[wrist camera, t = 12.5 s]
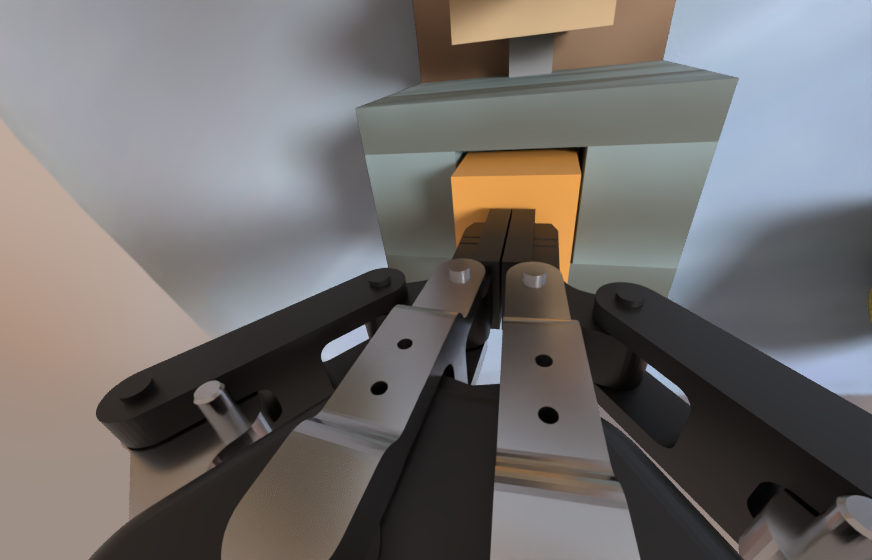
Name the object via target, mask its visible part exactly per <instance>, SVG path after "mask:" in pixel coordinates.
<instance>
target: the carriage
mask: <svg viewBox="0 0 872 560" xmlns="http://www.w3.org/2000/svg"><path fill="white" fill-rule="evenodd" d="M616 1H617V0H449V6H450V22H451V37H452V45H457V44H466V43H474V42H482V41H490V40H499V39H506V38H514V37H522V36H530V35H538V34H547V33H555V32H563V31H571V30H579V29H587V28H595V27H603V26H610V25H613V22H614V15H615V8H616Z"/></svg>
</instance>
